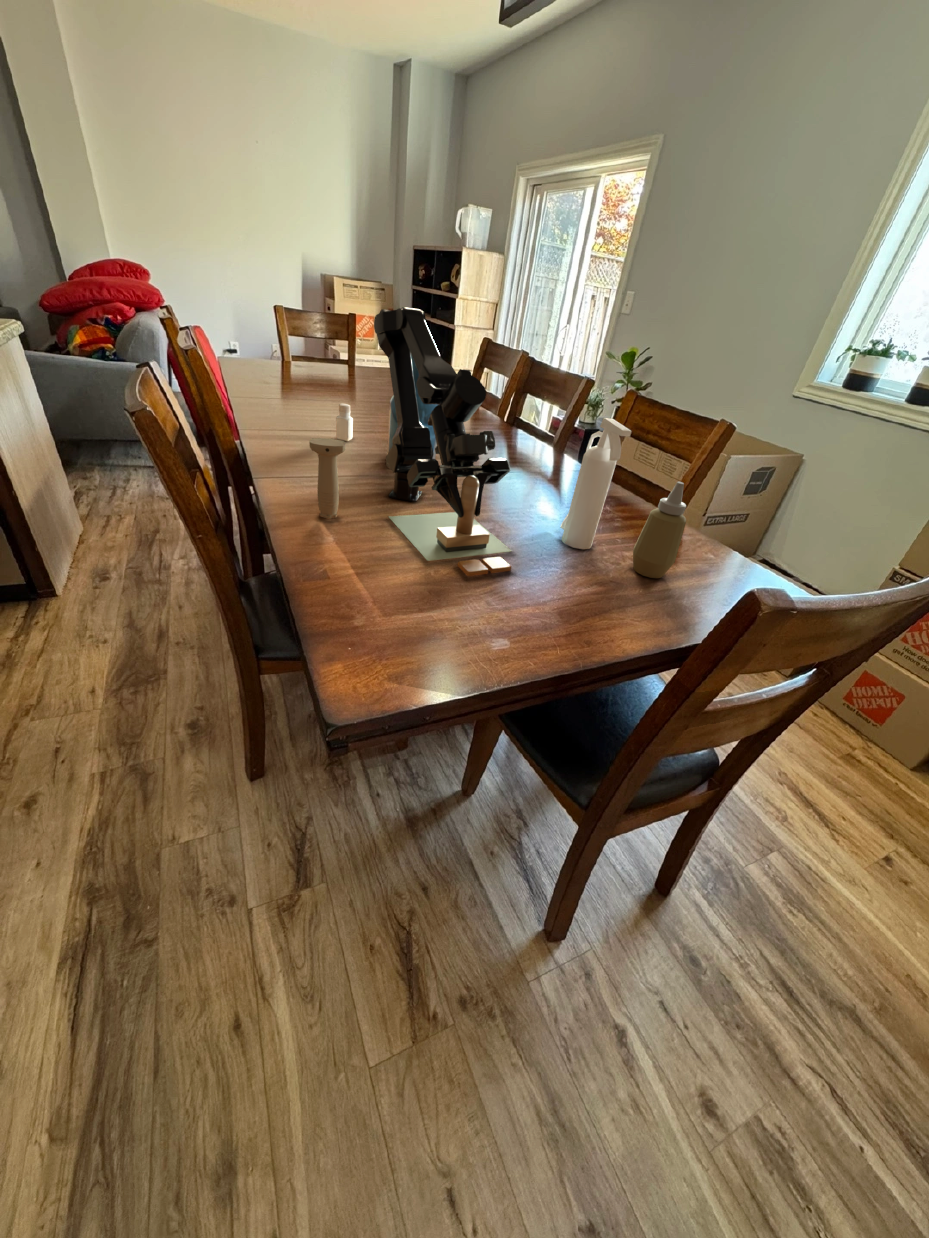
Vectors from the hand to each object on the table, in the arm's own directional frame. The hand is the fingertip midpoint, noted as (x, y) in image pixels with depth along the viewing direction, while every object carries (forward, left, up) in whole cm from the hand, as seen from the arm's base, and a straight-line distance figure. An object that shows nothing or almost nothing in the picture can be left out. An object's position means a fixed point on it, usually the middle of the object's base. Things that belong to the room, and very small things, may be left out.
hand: (469, 516), depth 93 cm
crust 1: (+8, +2, -7) cm, 11 cm away
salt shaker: (-61, -44, -8) cm, 76 cm away
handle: (-4, -28, -8) cm, 29 cm away
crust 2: (+5, +6, -7) cm, 11 cm away
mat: (-6, -4, -7) cm, 10 cm away
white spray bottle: (-15, +22, -8) cm, 28 cm away
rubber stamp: (-1, -1, -7) cm, 7 cm away
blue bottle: (-52, -22, -8) cm, 57 cm away
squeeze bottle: (-6, +36, -8) cm, 37 cm away
